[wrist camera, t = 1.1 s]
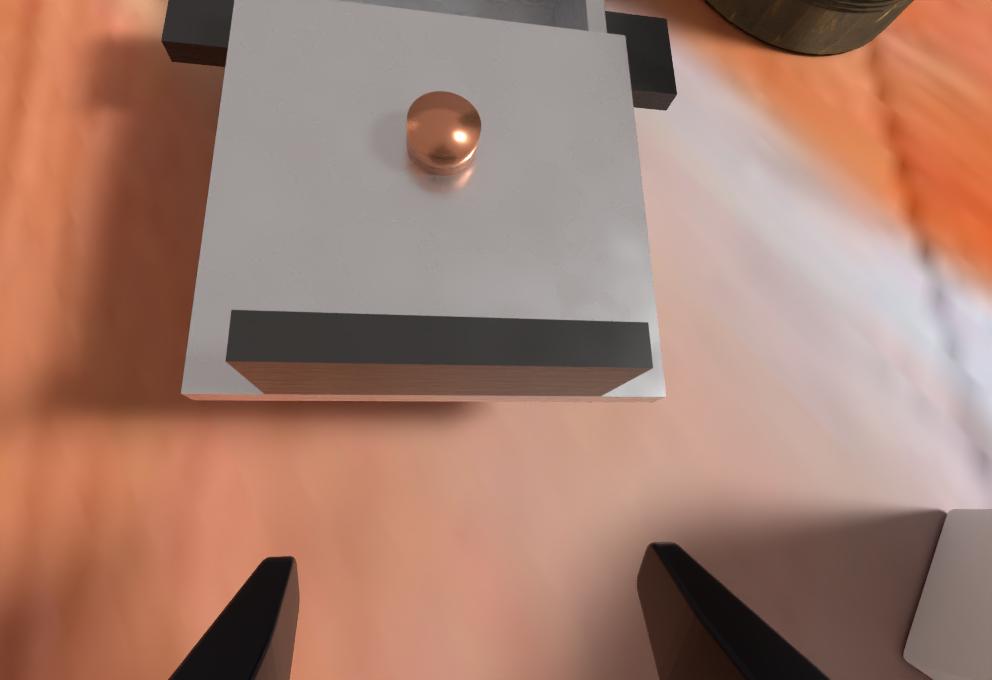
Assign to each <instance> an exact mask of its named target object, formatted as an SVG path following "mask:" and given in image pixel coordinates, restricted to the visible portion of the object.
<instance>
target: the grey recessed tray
mask: <svg viewBox="0 0 992 680" xmlns="http://www.w3.org/2000/svg"><path fill="white" fill-rule="evenodd" d="M337 1H345V2H354V3H362V4H370V5H378V6H387V7H395V8H403V9H411V10H420V11H428V12H436V13H444V14H452V15H461V16H469V17H477V18H485V19H494V20H502V21H510V22H518V23H527V24H535V25H543V26H551V27H560V28H568V29H576V30H584V31H593V32H601V33H609V34H617V35H625V37H626V46H627V55H628V64H629V73H630V82H631V90H632V99H633V107H637V108H647V109H657V110H667V108H668V107H669V106H670V104H671V103H672V101H673V100H674V98H675V97H676V95H677V91H676V84H675V77H674V69H673V62H672V55H671V48H670V41H669V34H668V27H667V20H666V19H663V18H656V17H648V16H640V15H632V14H624V13H617V12H609V11H605V9H604V0H337ZM233 7H234V0H169V1H168V7H167V13H166V18H165V24H164V29H163V35H162V43H163V45H164V47H165V49H166V51H167V53H168V55H169V57H170V59H171V60H172V62H181V63H191V64H201V65H211V66H222V67H225V66H226V59H227V51H228V44H229V37H230V29H231V22H232V15H233Z"/></svg>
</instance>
